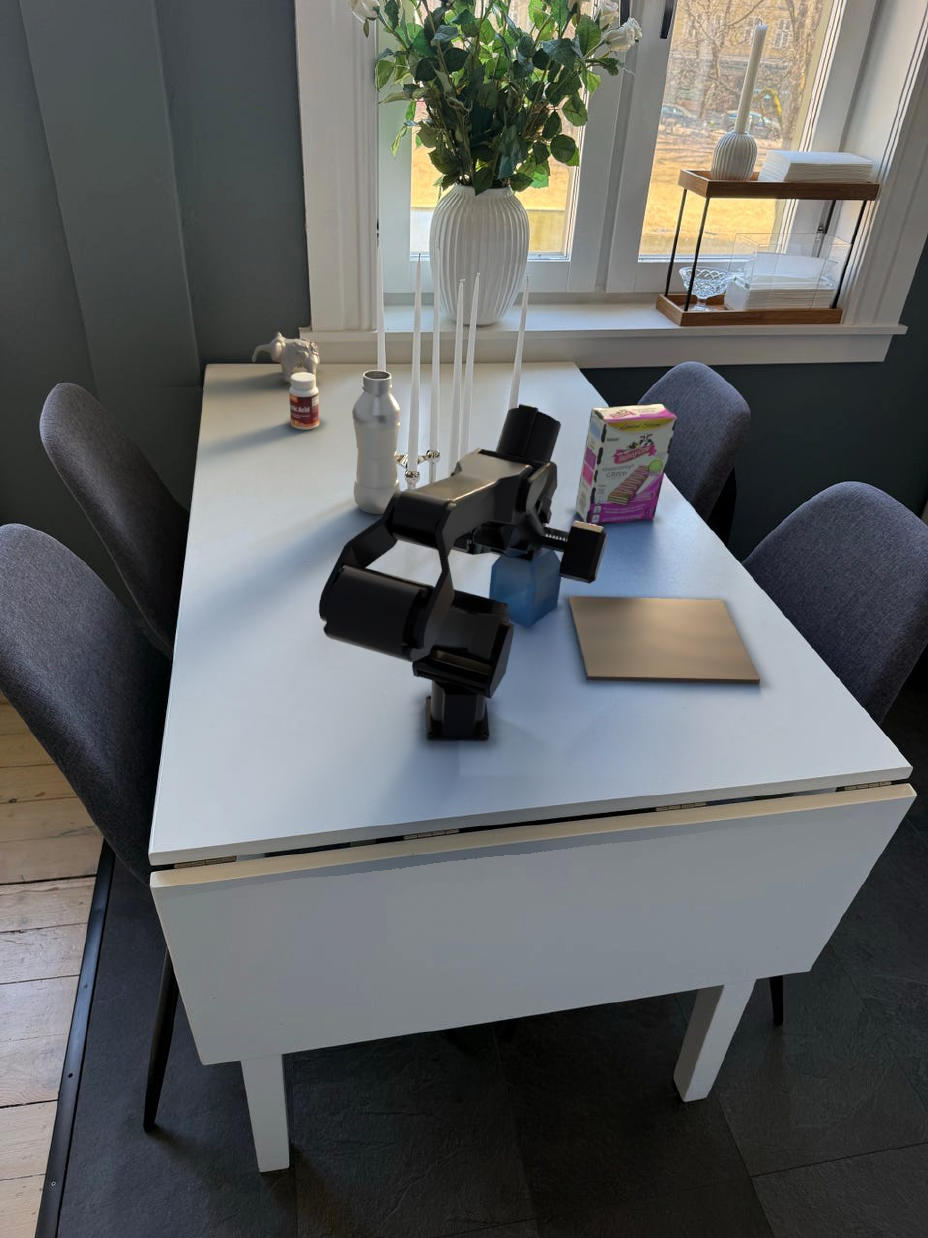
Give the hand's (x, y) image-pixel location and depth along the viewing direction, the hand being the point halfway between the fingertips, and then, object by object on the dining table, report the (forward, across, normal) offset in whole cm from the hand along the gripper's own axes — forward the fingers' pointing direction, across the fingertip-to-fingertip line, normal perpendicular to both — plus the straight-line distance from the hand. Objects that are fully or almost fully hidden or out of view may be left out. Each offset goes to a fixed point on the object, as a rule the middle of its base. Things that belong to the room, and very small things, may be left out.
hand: (530, 556), depth 111 cm
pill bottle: (+29, +50, -19) cm, 61 cm away
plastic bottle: (+15, +27, -4) cm, 31 cm away
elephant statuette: (+41, +62, -31) cm, 81 cm away
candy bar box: (+24, -5, -14) cm, 29 cm away
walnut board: (+4, -17, +5) cm, 18 cm away
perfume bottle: (+4, 0, +6) cm, 7 cm away
